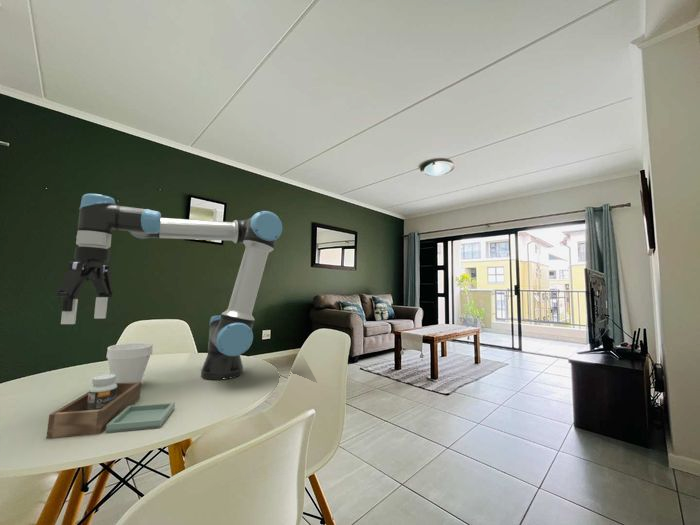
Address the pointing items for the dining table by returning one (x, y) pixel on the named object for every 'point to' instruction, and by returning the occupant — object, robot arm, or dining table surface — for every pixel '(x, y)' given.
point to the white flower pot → (128, 361)
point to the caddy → (91, 413)
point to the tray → (140, 417)
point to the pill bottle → (102, 391)
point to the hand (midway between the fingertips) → (85, 321)
